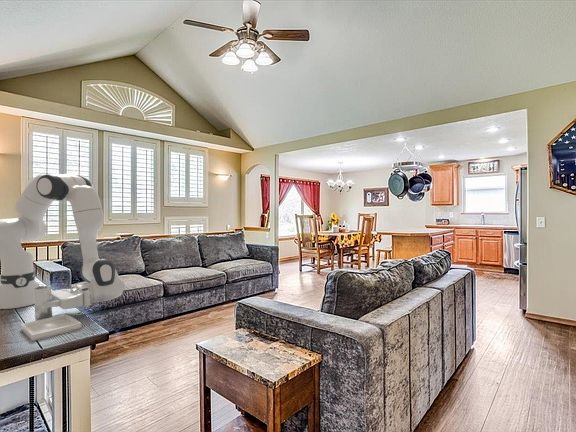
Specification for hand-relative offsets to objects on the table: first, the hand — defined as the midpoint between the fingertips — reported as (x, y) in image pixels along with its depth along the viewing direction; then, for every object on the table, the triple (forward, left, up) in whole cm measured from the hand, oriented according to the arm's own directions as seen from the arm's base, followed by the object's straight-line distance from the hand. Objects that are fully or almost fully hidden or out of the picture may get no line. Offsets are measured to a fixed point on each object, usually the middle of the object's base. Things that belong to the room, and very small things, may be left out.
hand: (40, 303), depth 123 cm
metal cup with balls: (0, +1, -7) cm, 7 cm away
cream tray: (+12, 0, -7) cm, 14 cm away
